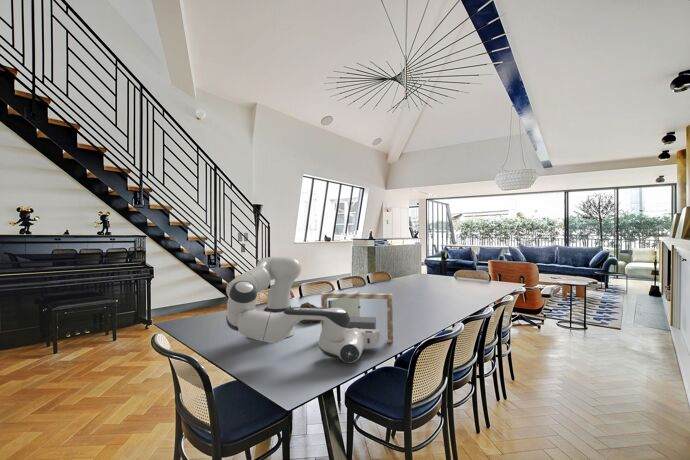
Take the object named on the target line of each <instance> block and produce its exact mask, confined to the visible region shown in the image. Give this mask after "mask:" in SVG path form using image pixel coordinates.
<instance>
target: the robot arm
mask: <svg viewBox="0 0 690 460" xmlns="http://www.w3.org/2000/svg"><path fill="white" fill-rule="evenodd" d="M256 263H257V264H256V266H255V267H253V268H251V269H249V270H247V271H246V272H244V273H242V274H241V273H240V274H239V275H238V276H236V277H235V278H233V279H232V280H231V281H229V283H228V284H227V285H226V289H225V291H226V296H228V299H227V303H226V318H225V319H226V324H227V327H228V328H230V329H231V330H233V331H236V332H239V333H240V334H241V335H242V336H244V337H247V338H248V339H253V340H257V341H260V342H261V341H262V342H266V343H270V344H271V343H272V344H273V343H274V344H277V343H279V342H282V341H283V340H285V339H286V338H289V337H292V336H293V335H294V334H295V333H294V329H293V328H295V326H296V325H297V324H298V323H300V322H299V321H301V320H305V319H307V320H321V321H322V320H324V323H323V327H322V326H321V331H320V332H321V333H320V335H319V338H318V339H319V340H318V342H317V345H318V348H319V349H320V351H321V353H323V354H324V355H325V356H327V357H330V358H334V359H340V360H341V361H343V362H344V363H347V364H350V363H355V362H357V361H358V360H359V358H360V357H361V356H362V354H363V351H364V350H367V349H374V348H376V346H377V344H379V342H380V339H381V330H380V329H377V328H376V329H362V328H352V329H348V328H347V327H348V324H349V322H350V317H349V315H348V313H347V311H346V310H344V309H342V308H328V307H327V308H319V307H318V308H310V307H300V306H296V307H295V306H292V305H291V289H292V286H293V283H294V282H295V280H296V279H297V278H299V276H300V275H301V271H302V265H301V263H300V261H299V260H297V259H295V258H292V257H282V256H281V257H279V256H278V257H277V256H276V257H275V256H269V257H264V258H263V257H262V258H260V259H259V260H258V262H256ZM271 281H274V284H273V286H271V288H269V286H270V284H271ZM267 288H269V290H268V292H267V306H266V307H264V309H263V310H258V309H257V308H256V303H257V296H258V294H259V293H260V292H262V291H264V290H265V289H267Z"/></svg>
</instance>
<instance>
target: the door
mask: <svg viewBox="0 0 690 460" xmlns="http://www.w3.org/2000/svg"><path fill="white" fill-rule="evenodd" d="M352 293H360V291H358V290H356V291H353V292H352ZM327 308H342V309H344V310H346V311H347V313H348V315H349V317H361V313H360V312H361V305H360V299H354V298H330V299H329V300H327Z"/></svg>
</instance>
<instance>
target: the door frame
mask: <svg viewBox="0 0 690 460" xmlns="http://www.w3.org/2000/svg"><path fill="white" fill-rule="evenodd" d="M320 295H321V296H320V299H321V300H320V305H321V306H320V307H321V308H328V299H334V298H354V299H359V300H361V299H363V300H364V299H365V300H369V299H370V300H386V314H387V315H386V323H387V325H386V328H387V344H394V320H393V319H394V318H393V317H394V316H393V315H394V314H393V311H394V310H393V293H369V292H368V293H364V292H363V293H362V292H359V293H353V292H320ZM323 323H324V320H321V328H322V327H323Z"/></svg>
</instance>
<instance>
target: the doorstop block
mask: <svg viewBox="0 0 690 460" xmlns="http://www.w3.org/2000/svg"><path fill="white" fill-rule="evenodd" d="M347 328H348V329H352V328H362V329H377V317H374V316H360V317H350V322H349V324H348V327H347Z"/></svg>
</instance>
